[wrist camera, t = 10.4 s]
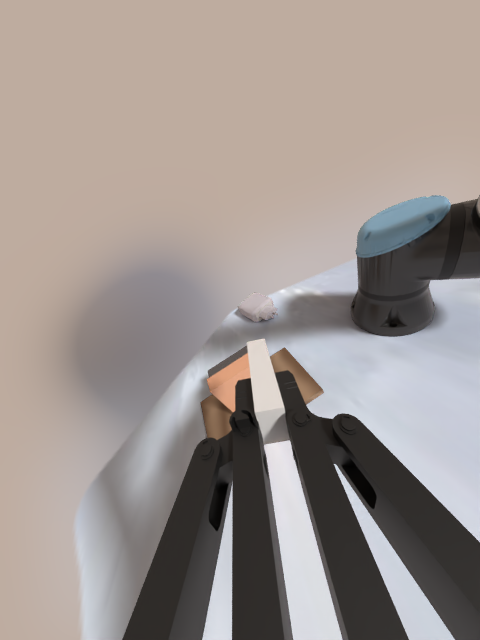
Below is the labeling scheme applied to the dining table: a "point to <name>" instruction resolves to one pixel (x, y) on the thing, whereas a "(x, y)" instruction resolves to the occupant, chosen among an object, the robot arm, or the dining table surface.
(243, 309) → the charger
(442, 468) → the dining table surface
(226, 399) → the orange block
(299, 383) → the base board
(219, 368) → the socket
